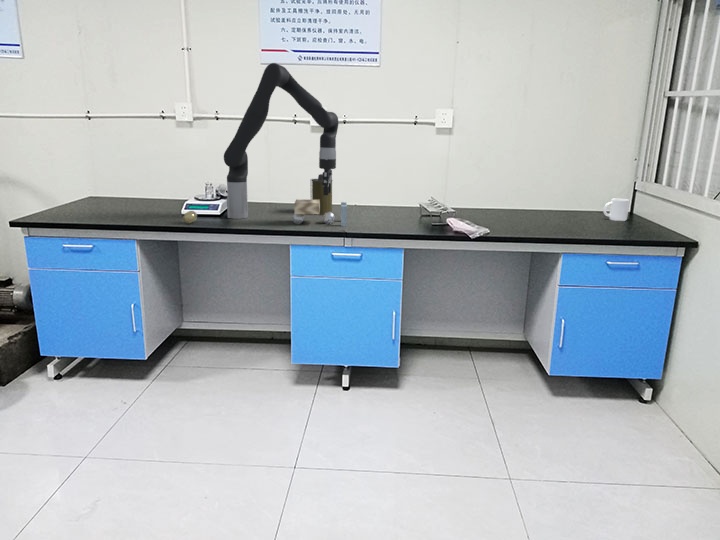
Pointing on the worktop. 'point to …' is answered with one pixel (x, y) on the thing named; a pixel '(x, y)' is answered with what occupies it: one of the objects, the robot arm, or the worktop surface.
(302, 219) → the translucent grey ball
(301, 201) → the slab
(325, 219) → the mottled grey ball
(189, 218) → the olive tan ovoid
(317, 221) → the worktop surface
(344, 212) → the post
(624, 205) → the mug
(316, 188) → the canister
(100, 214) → the worktop surface
